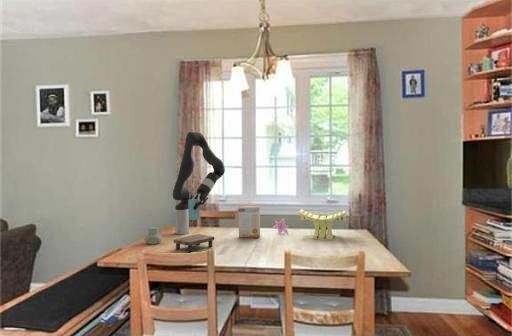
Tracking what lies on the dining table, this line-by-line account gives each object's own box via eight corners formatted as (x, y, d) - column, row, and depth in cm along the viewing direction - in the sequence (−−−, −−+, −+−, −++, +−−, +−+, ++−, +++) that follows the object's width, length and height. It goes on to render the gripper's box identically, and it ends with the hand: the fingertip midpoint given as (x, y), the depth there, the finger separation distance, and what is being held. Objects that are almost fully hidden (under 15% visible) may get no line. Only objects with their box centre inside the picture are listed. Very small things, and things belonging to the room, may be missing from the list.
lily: (269, 235, 283) (273, 224, 279) (271, 226, 293) (275, 215, 289) (286, 240, 283) (290, 230, 279) (287, 231, 293) (291, 220, 289)
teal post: (188, 219, 243) (188, 199, 242) (194, 218, 246) (193, 199, 246) (193, 220, 240) (193, 200, 240) (199, 219, 243) (198, 199, 243)
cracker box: (260, 236, 276) (259, 205, 275) (259, 238, 270) (259, 207, 269) (239, 236, 277) (239, 205, 277) (238, 238, 271) (238, 207, 271)
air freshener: (143, 245, 253) (143, 229, 253) (145, 242, 261) (145, 227, 261) (161, 244, 255) (161, 228, 254) (162, 241, 263) (162, 226, 263)
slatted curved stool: (346, 235, 276) (345, 209, 275) (344, 240, 260) (344, 212, 260) (302, 233, 283) (302, 208, 283) (298, 238, 268) (298, 211, 267)
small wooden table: (173, 249, 240) (173, 239, 240) (198, 243, 256) (198, 234, 256) (189, 252, 231) (189, 242, 231) (214, 246, 247) (214, 236, 247)
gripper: (194, 182, 253) (179, 204, 244) (210, 183, 244) (195, 205, 235) (201, 190, 257) (186, 211, 248) (217, 191, 248) (202, 213, 239)
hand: (191, 208), depth 241 cm, fingers closed on teal post, 4 cm apart
